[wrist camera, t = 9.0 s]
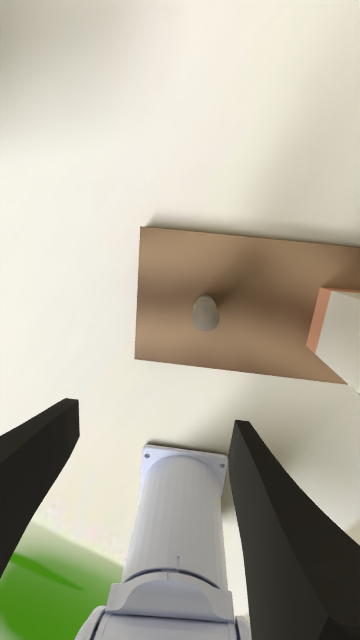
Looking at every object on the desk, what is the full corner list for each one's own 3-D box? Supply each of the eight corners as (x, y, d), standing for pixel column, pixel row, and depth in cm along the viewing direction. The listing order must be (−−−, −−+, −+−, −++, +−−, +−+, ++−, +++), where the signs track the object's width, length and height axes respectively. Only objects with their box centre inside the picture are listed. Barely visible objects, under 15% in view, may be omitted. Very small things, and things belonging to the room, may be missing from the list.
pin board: (381, 382, 20) (433, 420, 15) (137, 353, 20) (121, 382, 16) (430, 255, 17) (510, 257, 12) (143, 227, 18) (125, 221, 13)
